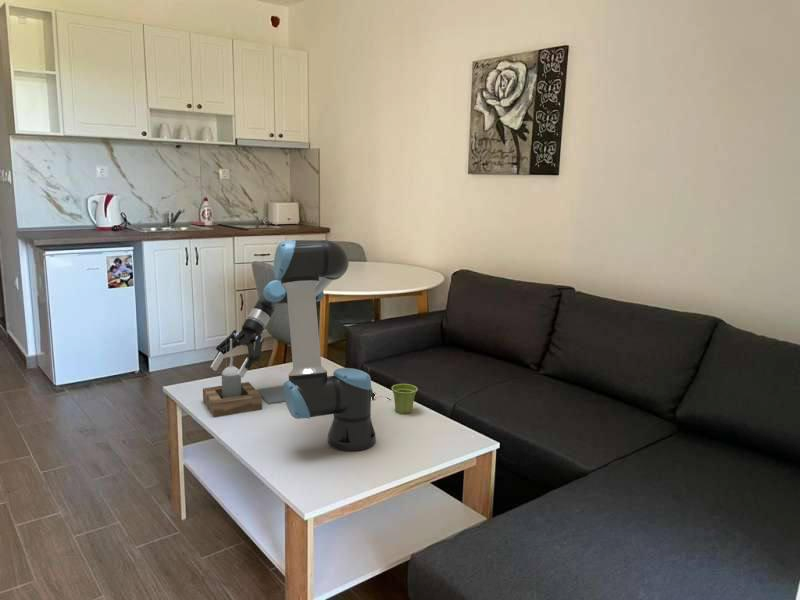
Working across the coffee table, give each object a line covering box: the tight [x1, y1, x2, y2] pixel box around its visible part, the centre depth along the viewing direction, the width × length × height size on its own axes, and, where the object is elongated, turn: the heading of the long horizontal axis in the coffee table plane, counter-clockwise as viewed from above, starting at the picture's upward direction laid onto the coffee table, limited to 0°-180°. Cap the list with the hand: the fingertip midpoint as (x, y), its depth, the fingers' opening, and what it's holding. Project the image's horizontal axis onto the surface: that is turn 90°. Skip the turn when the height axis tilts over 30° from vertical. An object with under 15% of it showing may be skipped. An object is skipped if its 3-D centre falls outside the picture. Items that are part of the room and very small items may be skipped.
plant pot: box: [391, 383, 418, 415], centre depth 212 cm, size 9×9×9 cm
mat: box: [255, 384, 286, 405], centre depth 226 cm, size 16×16×1 cm
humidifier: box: [221, 339, 242, 399], centre depth 211 cm, size 8×8×25 cm
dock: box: [202, 381, 263, 418], centre depth 213 cm, size 17×17×5 cm
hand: (226, 372), depth 209 cm, fingers open, 13 cm apart
